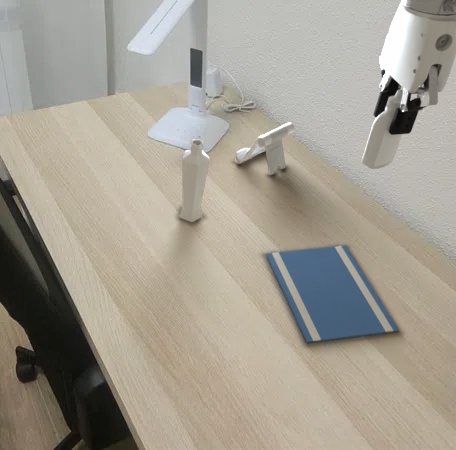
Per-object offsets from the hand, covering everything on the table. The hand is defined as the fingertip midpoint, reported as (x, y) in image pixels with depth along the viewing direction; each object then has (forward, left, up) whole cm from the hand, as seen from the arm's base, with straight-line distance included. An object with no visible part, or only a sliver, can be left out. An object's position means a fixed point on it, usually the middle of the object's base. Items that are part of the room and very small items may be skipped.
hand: (391, 123), depth 81 cm
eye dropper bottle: (0, 0, -7) cm, 7 cm away
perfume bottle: (+27, -9, -22) cm, 36 cm away
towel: (+10, +12, -22) cm, 27 cm away
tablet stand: (+9, -23, -22) cm, 33 cm away
